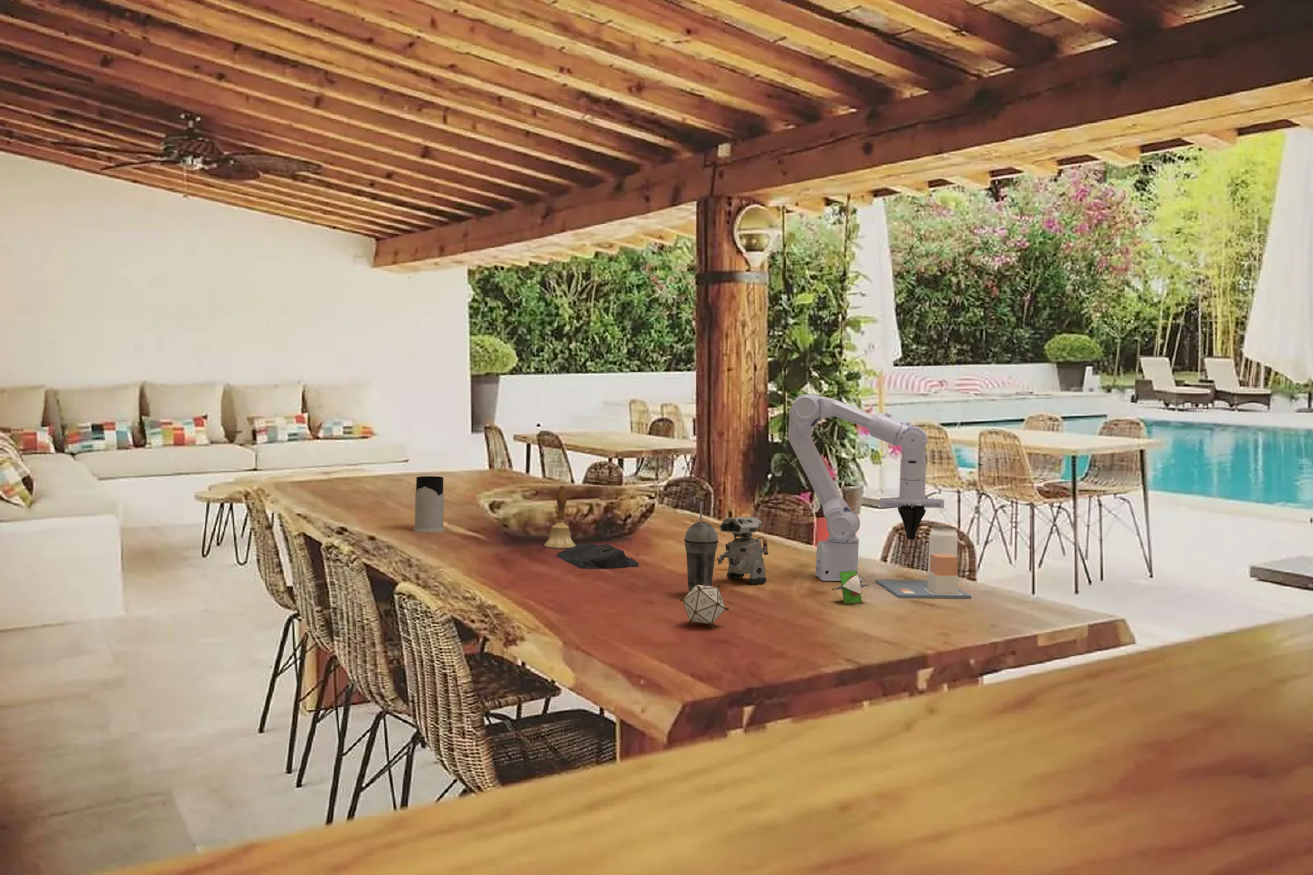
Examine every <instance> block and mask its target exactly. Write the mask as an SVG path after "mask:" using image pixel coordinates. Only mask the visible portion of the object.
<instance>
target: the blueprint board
mask: <svg viewBox="0 0 1313 875" xmlns="http://www.w3.org/2000/svg"><path fill="white" fill-rule="evenodd" d="M875 583H876V584H877V585H879V586H880V587H883V589H885V590H886V591H888V592H890V593H891V594H893V595H894V596H896V597H897V598H899V599H903V598H904V599H969V600H970V599H971V600H972V595H971V594H969V593H968V592H966V591H964V590H961V589H960V588H958V594H934V593H933V592H931V591H929V590H928V579H926V580H925V579H876V580H875Z"/></svg>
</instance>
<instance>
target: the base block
mask: <svg viewBox="0 0 1313 875" xmlns="http://www.w3.org/2000/svg"><path fill="white" fill-rule="evenodd" d="M927 575H928V574H927ZM927 578H928V579H927V580H928V590H929V591H931V592H933V593H934V594H958V589H959V575H957V576H937V575H935V574H933V573H931V572H929V575H928V577H927Z"/></svg>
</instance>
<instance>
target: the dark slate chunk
mask: <svg viewBox="0 0 1313 875" xmlns="http://www.w3.org/2000/svg"><path fill="white" fill-rule="evenodd" d="M555 556H556V557H557V558H559V559H561V560H563V561H564V562H566V563H568V564H570V565H572V566H574V567H576V568H579V569H583V570H584V569H586V570H598V569H599V570H600V569H601V570H602V569H604V570H605V569H606V570H609V569H611V570H612V569H624V568H632V567H639V565H640V564H639V562H638V561H636V560H635V559H634V558H632V557H628V556H626V554H625V551H624V550H623V549H620V548H617V547H615V546H613V545H610V544H609V543H603V544H600V545H598V544H594V543H590V542H587V541H585V542H582V543H579V544H577V545H576V546H574V547H572V548H565V549H563V550H562V551H559V552H557V554H556V555H555Z"/></svg>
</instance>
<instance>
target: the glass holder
mask: <svg viewBox="0 0 1313 875" xmlns="http://www.w3.org/2000/svg"><path fill="white" fill-rule="evenodd" d="M415 487H416V488H415V495H414V496H415V498H414V500H415V501H414V507H415V508H414V528H413V531H414V532H417V533H426V534H428V533H441V532H445V531H446V530H445V527H444V505H445V504H444V502H445V501H444V500H445V498H444V496H445V494H444V477H443V476H436V475H432V476H431V475H429V476H428V475H422V476H416V479H415Z"/></svg>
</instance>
